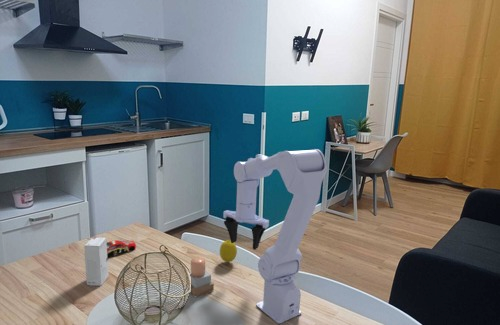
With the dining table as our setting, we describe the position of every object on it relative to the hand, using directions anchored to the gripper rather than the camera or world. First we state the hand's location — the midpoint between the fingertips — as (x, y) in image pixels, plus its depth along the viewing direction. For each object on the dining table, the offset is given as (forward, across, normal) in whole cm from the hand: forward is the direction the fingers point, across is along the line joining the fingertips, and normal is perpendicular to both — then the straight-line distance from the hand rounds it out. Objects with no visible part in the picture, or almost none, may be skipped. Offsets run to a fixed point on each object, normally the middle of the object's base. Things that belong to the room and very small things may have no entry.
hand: (244, 245), depth 110 cm
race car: (+11, -44, -10) cm, 46 cm away
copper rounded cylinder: (+6, -7, -13) cm, 16 cm away
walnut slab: (+11, -7, -13) cm, 18 cm away
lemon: (+11, -9, +5) cm, 15 cm away
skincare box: (+11, -34, -26) cm, 44 cm away
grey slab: (+8, -7, -13) cm, 17 cm away
